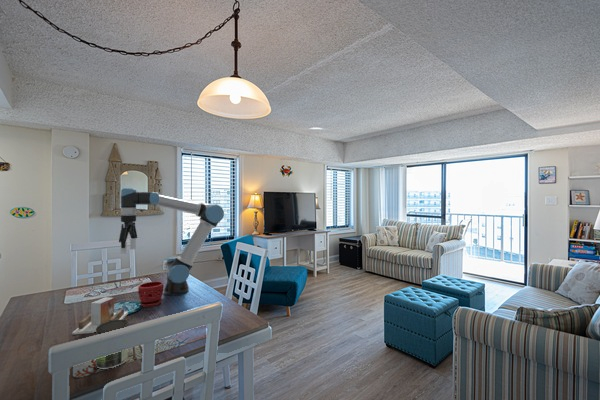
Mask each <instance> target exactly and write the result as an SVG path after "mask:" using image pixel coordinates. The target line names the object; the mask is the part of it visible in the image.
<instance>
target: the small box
mask: <svg viewBox="0 0 600 400" xmlns="http://www.w3.org/2000/svg"><path fill="white" fill-rule="evenodd" d="M90 310H91V311H90V314H91V324H99V325H101V324H103V323H105V322H107V321H109V320H110V319H111V318H112V317H113V316H114V313H115V298H114V297H108V296H107V297H106V296H105V297H103V298H100V299H98V300H95V301H93V302H91V304H90Z"/></svg>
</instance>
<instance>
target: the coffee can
mask: <svg viewBox="0 0 600 400" xmlns="http://www.w3.org/2000/svg"><path fill="white" fill-rule="evenodd" d="M127 326H128V327H129V321H128V320H126V319H123V320H113V321H109V322H106V323H103V324H101V325H99V326H98V327H97V328H96V333H95V334H96V335H97V334H101V333H105V332H109V331H112V330H116V329H120V328H124V327H127ZM96 335H95V336H96ZM128 351H129V349H128V350H124V351H121V352H118V353H115V354H111V355H108V356H106V357H102V358H99V359H96V358H95V367H96V366H97V367H98V368H101V369H107V370H109V369H108V368H112V369H114V367H115V368H117V367H116V366H118V367H120V366H122V365H123V364H125V363H126V362H127V360H128V358H129V357H128V353H129V352H128ZM119 365H120V366H119Z"/></svg>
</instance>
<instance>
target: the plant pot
mask: <svg viewBox="0 0 600 400" xmlns="http://www.w3.org/2000/svg"><path fill="white" fill-rule="evenodd" d="M137 290H138V298H139V300H140V302H139V305H140V306H141V307H144V308H150V307H156V306H157V305H160V304H161V303H162V302H163V299H162V297H163V294H164V282H162V281H149V282H144V283H141V284H139V285H138V287H137Z"/></svg>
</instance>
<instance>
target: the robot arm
mask: <svg viewBox="0 0 600 400" xmlns="http://www.w3.org/2000/svg"><path fill="white" fill-rule="evenodd" d="M120 190H121V191H120V209H119V210H120V221H121V223H123V224H121V228H120V233H119V238H118V243H120V254H121V255H126V254H128V242H127V239H128V236H130V239H129V241H130V242H129V243H130V245H129V246H130V247H129V249H130V250H136V249H137V248H136V247H137V245H136V242H137V240H136V239H137V238H138V233H137V228H136V222H137V206H138V205H142V206H143V205H146V206H148V205H150V206H154V207H155V206H156V207H161V208H165V209H168V210H174V211H179V212H183V213H188V214H193V215H195V217H199V224H198V226H196V229H195V230H194V232H193V234H192V235H191V237H190V238H189V240H188V241H187V242H186V243H187V244H186V245H185V247H184V248H183V250H182V252H181V253H180V255H179V256H173V257H168V258H167V259H166V282H165V286H164V287H163V294H164V295H165V296H178V295H182V294H186V293H187V292H189V289H190V288H189V283H188V281H187V280H188V278H189V276H190V274H191V273H190V272H191V270H192V268H193V267H194V263H193V262H194V260H195V259H196V257H197V255H198V253H199V252H200V250H201V248H202V247H203V245H204V243H205V241H206V239H207V238H208V236H209V235H210V233H211V231H212V230H213V229H214V228H217V226H218V224H219V223H220V222H221V221H222V220H223V219H224V216H225V210H224V209H223V207H222V206H220V205H218V204H217V203H203V202H198V203H197V202H192V201H188V200H184V199H180V198H179V199H178V198H175V197H171V196H166V195H163V194H159V192H157V191H156V192H154V191H137V189H136V188H132V187H131V188H129V187H127V188H122V189H120Z"/></svg>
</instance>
